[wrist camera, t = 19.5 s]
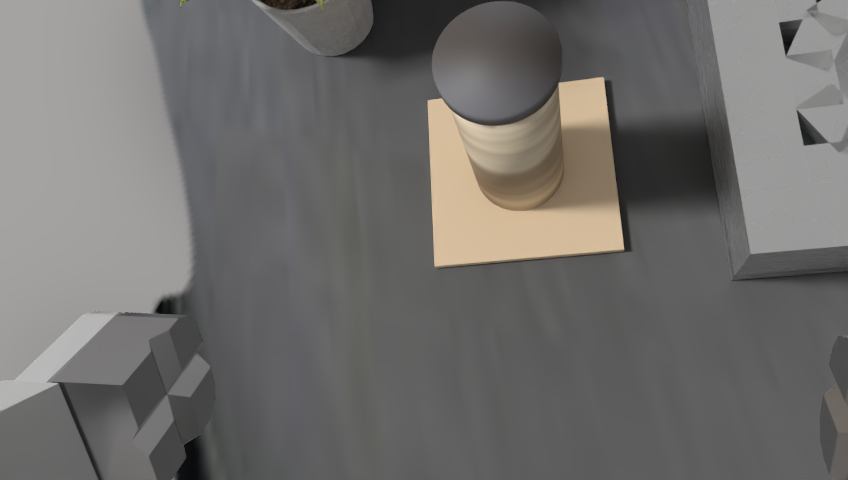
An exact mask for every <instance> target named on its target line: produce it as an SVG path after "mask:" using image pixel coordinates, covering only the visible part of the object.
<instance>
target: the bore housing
mask: <svg viewBox="0 0 848 480" xmlns="http://www.w3.org/2000/svg"><path fill="white" fill-rule="evenodd" d="M687 12H688V18H689V24H690V30H691V36H692V43H693V49H694V55H695V61H696V67H697V74H698V80H699V86H700V92H701V98H702V105H703V111H704V117H705V123H706V129H707V136H708V142H709V148H710V154H711V160H712V167H713V173H714V179H715V185H716V191H717V198H718V204H719V210H720V216H721V222H722V229H723V235H724V241H725V247H726V253H727V260H728V266H729V272H730V278H731V280H742V279H755V278H767V277H779V276H792V275H804V274H817V273H829V272H842V271H848V0H688V1H687Z"/></svg>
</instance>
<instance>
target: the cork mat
mask: <svg viewBox="0 0 848 480" xmlns="http://www.w3.org/2000/svg"><path fill="white" fill-rule="evenodd" d="M559 99H560V115H561V130H562V146H563V162H564V173H563V178H562V182H561V184H560V186H559V188H558V190H557V191H556V192H555V194H554V195H553V196H552V197H551V198H550V199H549V200H548V201H546V202H545V203H544V204H542V205H540V206H538V207H536V208H533V209H529V210H524V211H512V210H507V209H503V208H501V207H499V206H497V205H495V204H493V203H492V202H490V201H489V200H488V199H487V198H486V197H485V196H484V194H483V193H482V191H481V190H480V187H479V185H478V183H477V180H476V177H475V175H474V172H473V169H472V166H471V164H470V161H469V158H468V156H467V153H466V150H465V147H464V145H463V142H462V139H461V137H460V134H459V131H458V129H457V126H456V123H455V120H454V118H453V115H452V112H451V110H450V108H449V107H448V106H447V105H446V104H445V102H444V101H443V99H442V98H441V99H434V100H428V119H429V142H430V166H431V190H432V214H433V238H434V262H435V267H436V268H444V267H455V266H466V265H477V264H488V263H500V262H511V261H522V260H533V259H544V258H555V257H567V256H578V255H589V254H600V253H611V252H622V251H624V243H623V235H622V226H621V218H620V209H619V201H618V193H617V184H616V176H615V168H614V159H613V151H612V143H611V134H610V126H609V118H608V109H607V101H606V93H605V84H604V77H600V78H593V79H585V80H577V81H570V82H562V83H559Z"/></svg>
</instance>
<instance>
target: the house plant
mask: <svg viewBox="0 0 848 480" xmlns="http://www.w3.org/2000/svg"><path fill="white" fill-rule="evenodd" d="M186 1H189V0H180V6H181V4H182V3H183V2H186ZM252 1H253V2H254V3H255V4H256V5H257V6H258V7H259V8H260V9H261V10H263V11H264V12H265V13H266V14H267V15H268V16H269V17H271V18H272V19H273V20H274V21H275V22H276V23H277V24H278V25H280V26H281V27H282V28H283V29H284V30H285V31H286V32H287V33H289V34H290V35H291V36H292V37H293V38H294V39H295V40H297V41H298V42H299V43H300V44H301V45H302V46H303V47H304V48H306V49H307V50H309V51H310V52H312V53H314V54H317V55H321V56H337V55H341V54H345V53H347V52H349V51H350V50H352V49H354V48H356V47H357V46H358V45H359V44H360V43H362V42H363V40H364V39H365V38H366V36H367V35H368V34H369V32H370V30H371V27H372V25H373V9H372V3H371V0H252Z"/></svg>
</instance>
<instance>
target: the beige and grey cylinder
mask: <svg viewBox="0 0 848 480" xmlns="http://www.w3.org/2000/svg"><path fill="white" fill-rule="evenodd" d="M561 72H562V49H561V43H560V40H559V37H558V34H557V32H556V30H555V28H554V27H553V25H552V24H551V22H550V21H549V20H548V19H547V18H546V17H545V16H544V15H542V14H541V13H540V12H539V11H537V10H535V9H533V8H532V7H529V6H527V5H524V4H521V3H517V2H510V1H495V2H488V3H483V4H480V5H477V6H475V7H472V8H470V9H468V10H466V11H464V12H463V13H461V14H460V15H458V16H457V17H456V18H454V19H453V20H452V21H451V22H450V23H449V24H448V25H447V26H446V28H445V29H444V30H443V32H442V33H441V35H440V36H439V38H438V40H437V42H436V45H435V48H434V51H433V56H432V73H433V77H434V81H435V83H436V86H437V88H438V91H439V93H440V96H441V98H442V99H443V101H444V102H445V104H446V105H447V106H448V107H449V108H450V110H451V112H452V115H453V118H454V120H455V123H456V126H457V129H458V131H459V134H460V137H461V139H462V142H463V145H464V147H465V150H466V153H467V156H468V158H469V161H470V164H471V166H472V169H473V172H474V175H475V177H476V180H477V183H478V185H479V187H480V190H481V191H482V193H483V194H484V196H485V197H486V198H487V199H488V200H489V201H490V202H492V203H493V204H495V205H497V206H499V207H501V208H503V209H507V210H512V211H524V210H529V209H533V208H536V207H538V206H540V205H542V204H544V203H545V202H546V201H548V200H549V199H550V198H551V197H552V196H553V195H554V194H555V192H556V191H557V190H558V188H559V186H560V184H561V182H562V178H563V173H564V162H563V146H562V130H561V115H560V99H559V81H560V77H561Z"/></svg>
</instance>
